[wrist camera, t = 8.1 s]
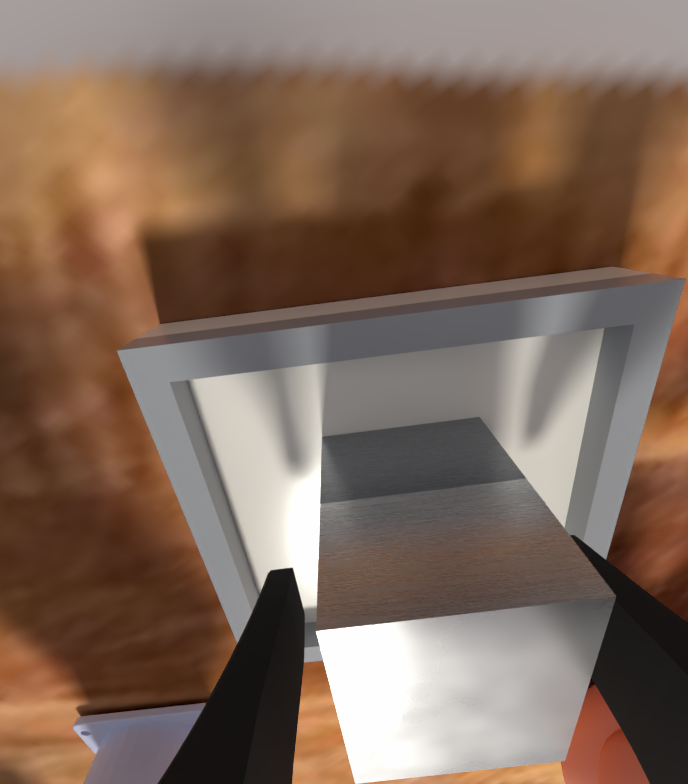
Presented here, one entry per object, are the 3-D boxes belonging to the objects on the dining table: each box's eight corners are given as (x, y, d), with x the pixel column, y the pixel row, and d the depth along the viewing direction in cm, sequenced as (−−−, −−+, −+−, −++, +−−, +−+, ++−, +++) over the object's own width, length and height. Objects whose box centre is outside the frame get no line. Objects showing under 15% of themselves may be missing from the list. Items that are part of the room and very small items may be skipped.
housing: (473, 551, 14) (564, 760, 9) (345, 566, 14) (355, 783, 9) (479, 416, 11) (616, 595, 6) (321, 436, 11) (316, 631, 6)
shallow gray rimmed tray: (551, 576, 17) (585, 630, 15) (258, 610, 17) (247, 668, 15) (612, 266, 11) (685, 279, 9) (159, 324, 11) (116, 350, 9)
